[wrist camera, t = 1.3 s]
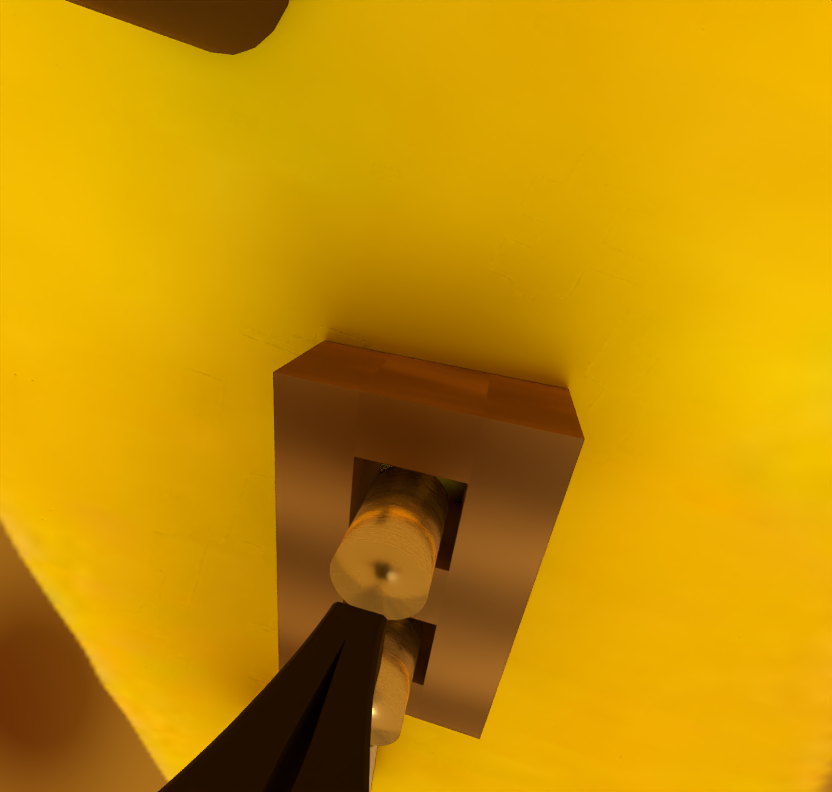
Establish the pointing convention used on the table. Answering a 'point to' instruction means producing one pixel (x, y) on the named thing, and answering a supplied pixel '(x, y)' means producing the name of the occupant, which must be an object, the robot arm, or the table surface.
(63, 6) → the table surface
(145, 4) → the coffee cup
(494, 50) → the table surface
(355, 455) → the socket block
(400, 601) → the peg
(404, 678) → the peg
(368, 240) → the table surface
